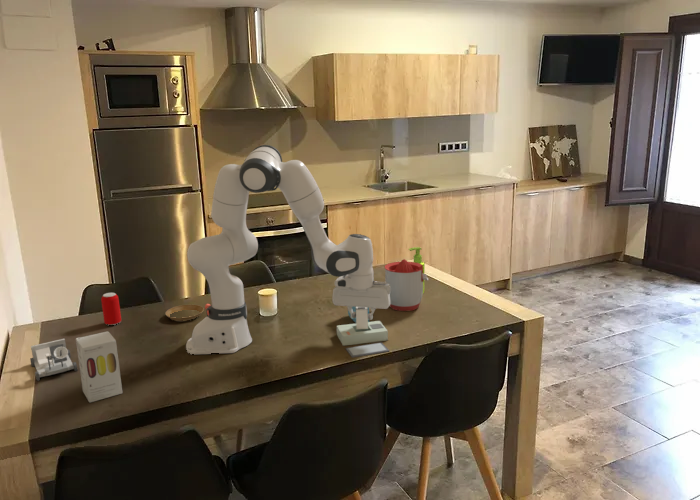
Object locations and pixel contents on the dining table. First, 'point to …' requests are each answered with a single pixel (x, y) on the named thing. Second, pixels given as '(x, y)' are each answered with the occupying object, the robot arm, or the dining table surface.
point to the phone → (367, 349)
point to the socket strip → (362, 333)
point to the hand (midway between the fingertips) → (361, 318)
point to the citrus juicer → (405, 284)
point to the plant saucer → (184, 307)
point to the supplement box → (99, 366)
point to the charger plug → (361, 318)
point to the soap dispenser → (418, 259)
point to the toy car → (51, 358)
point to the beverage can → (111, 308)
